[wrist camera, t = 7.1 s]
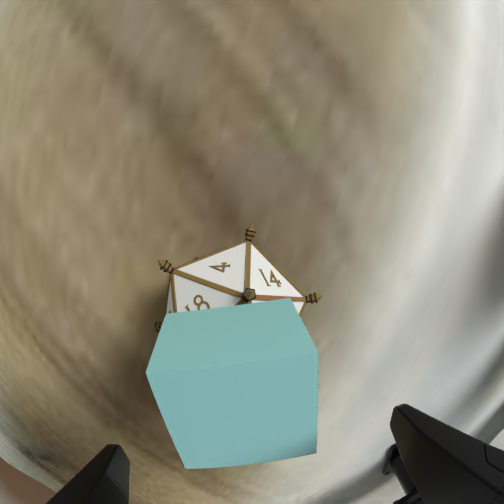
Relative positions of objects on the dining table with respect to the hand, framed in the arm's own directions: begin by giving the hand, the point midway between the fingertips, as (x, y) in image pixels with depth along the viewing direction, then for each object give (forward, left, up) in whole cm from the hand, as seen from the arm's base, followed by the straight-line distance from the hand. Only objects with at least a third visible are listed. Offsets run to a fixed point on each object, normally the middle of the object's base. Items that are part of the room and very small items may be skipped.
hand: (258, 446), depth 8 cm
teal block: (0, 0, -5) cm, 5 cm away
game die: (0, +1, -13) cm, 13 cm away
